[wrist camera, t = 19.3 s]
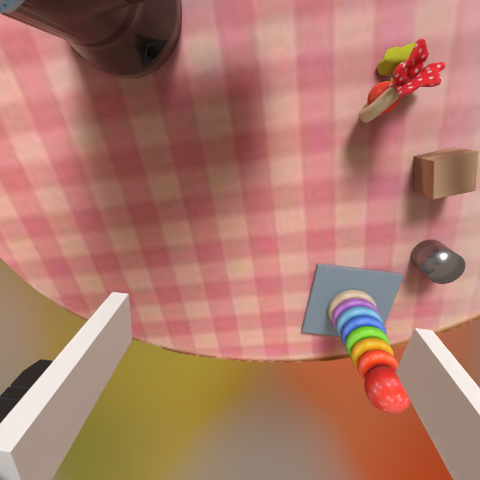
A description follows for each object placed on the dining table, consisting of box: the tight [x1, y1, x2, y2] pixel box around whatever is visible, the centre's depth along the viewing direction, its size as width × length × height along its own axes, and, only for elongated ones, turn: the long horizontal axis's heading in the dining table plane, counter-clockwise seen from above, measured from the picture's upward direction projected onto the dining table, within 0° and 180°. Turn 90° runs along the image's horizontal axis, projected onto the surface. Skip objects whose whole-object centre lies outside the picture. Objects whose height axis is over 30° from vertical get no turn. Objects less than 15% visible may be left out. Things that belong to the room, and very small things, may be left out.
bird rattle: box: [359, 39, 445, 123], centre depth 32 cm, size 6×11×9 cm
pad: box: [302, 264, 403, 337], centre depth 49 cm, size 14×14×1 cm
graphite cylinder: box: [411, 240, 465, 284], centre depth 42 cm, size 5×5×5 cm
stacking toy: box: [328, 290, 411, 413], centre depth 40 cm, size 8×8×19 cm
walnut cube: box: [414, 148, 478, 199], centre depth 37 cm, size 5×5×5 cm
